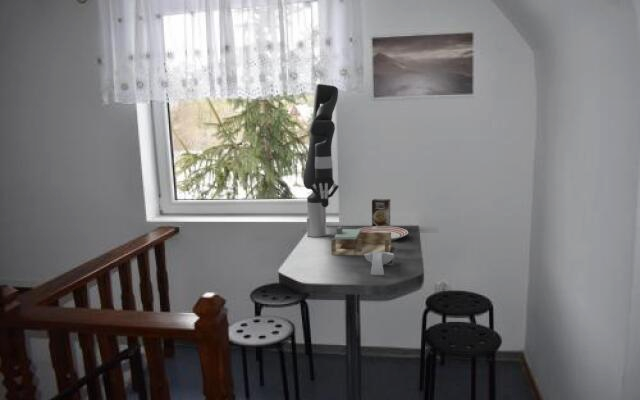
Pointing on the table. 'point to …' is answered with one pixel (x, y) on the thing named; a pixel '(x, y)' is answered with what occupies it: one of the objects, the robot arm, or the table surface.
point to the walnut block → (348, 243)
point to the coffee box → (380, 212)
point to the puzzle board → (364, 244)
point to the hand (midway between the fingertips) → (325, 206)
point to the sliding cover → (347, 233)
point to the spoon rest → (378, 261)
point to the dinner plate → (395, 231)
